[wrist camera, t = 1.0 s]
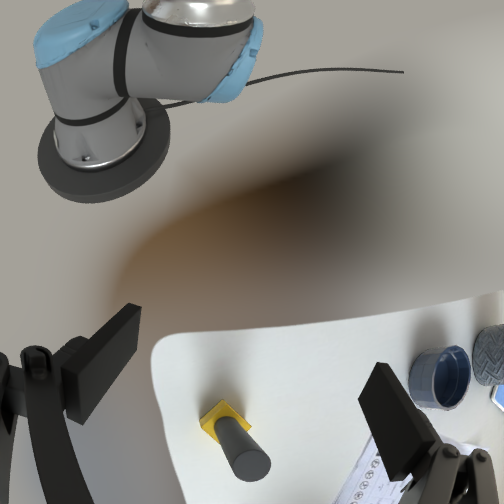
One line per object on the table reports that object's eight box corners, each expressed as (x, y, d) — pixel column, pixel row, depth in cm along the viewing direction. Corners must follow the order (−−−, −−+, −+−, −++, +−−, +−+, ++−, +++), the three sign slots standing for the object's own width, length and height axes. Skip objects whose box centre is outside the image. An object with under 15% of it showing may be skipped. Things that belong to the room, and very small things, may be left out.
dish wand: (222, 399, 33) (252, 431, 18) (245, 420, 33) (290, 462, 18) (198, 420, 32) (212, 468, 17) (222, 441, 31) (251, 497, 17)
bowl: (428, 336, 42) (451, 332, 37) (454, 371, 41) (477, 370, 36) (397, 385, 38) (422, 386, 33) (427, 418, 38) (450, 421, 32)
